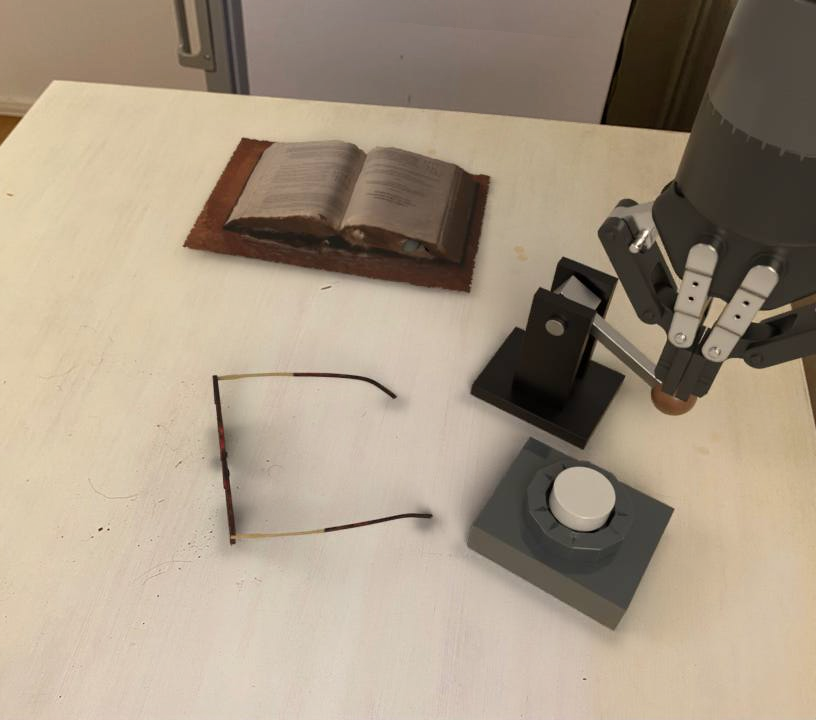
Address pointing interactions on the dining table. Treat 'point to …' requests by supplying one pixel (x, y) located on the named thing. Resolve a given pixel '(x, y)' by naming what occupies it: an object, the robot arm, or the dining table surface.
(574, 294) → the flush lever
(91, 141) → the dining table surface
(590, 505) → the white push button
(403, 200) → the book
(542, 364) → the lever bracket
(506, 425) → the dining table surface
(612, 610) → the button housing
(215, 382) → the sunglasses
